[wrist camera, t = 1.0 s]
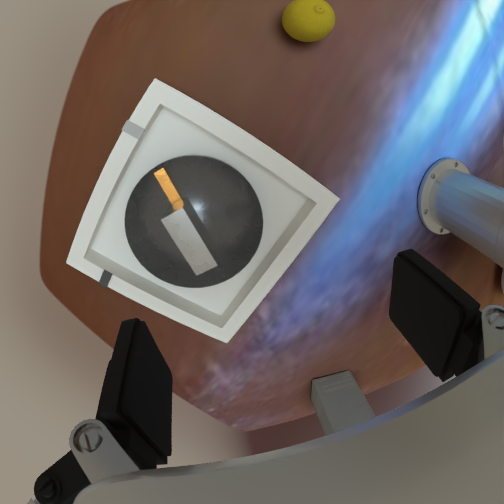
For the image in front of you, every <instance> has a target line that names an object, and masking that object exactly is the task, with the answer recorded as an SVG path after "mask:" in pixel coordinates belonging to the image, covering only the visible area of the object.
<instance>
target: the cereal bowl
mask: <svg viewBox="0 0 504 504" xmlns="http://www.w3.org/2000/svg"><path fill="white" fill-rule="evenodd" d="M501 285H502V291H503V294H504V269H503V271H502V277H501Z"/></svg>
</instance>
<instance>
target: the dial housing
mask: <svg viewBox="0 0 504 504" xmlns="http://www.w3.org/2000/svg"><path fill="white" fill-rule="evenodd" d="M122 131H123V132H122V133H121V135H120V137H119V139H118V141H117V143H116V145H115V147H114V148H113V150H112V152H111V154H110V156H109V158H108V160H107V162H106V164H105V167H104V169H103V171H102V173H101V175H100V177H99V179H98V182H97V184H96V186H95V188H94V190H93V193H92V195H91V197H90V200H89V202H88V205H87V207H86V209H85V212H84V214H83V217H82V220H81V222H80V225H79V227H78V230H77V233H76V236H75V238H74V241H73V244H72V247H71V250H70V253H69V256H68V259H67V262H66V263H67V264H69V265H71V266H72V267H74V268H76V269H77V270H79V271H81V272H83V273H84V274H86V275H88V276H90V277H91V278H93V279H95V280H97V281H98V282H99V283H98V284H100V285H101V286H103V287H105V288H107V286H108V287H109V288H111V289H113V290H115V291H117V292H119V293H121V294H123V295H124V296H126V297H128V298H130V299H132V300H134V301H136V302H138V303H140V304H142V305H144V306H146V307H148V308H150V309H152V310H154V311H156V312H158V313H160V314H162V315H165V316H167V317H169V318H171V319H173V320H175V321H177V322H179V323H182V324H184V325H186V326H188V327H190V328H193V329H195V330H197V331H199V332H202V333H204V334H206V335H209V336H211V337H213V338H216V339H218V340H220V341H223V342H225V343H228V342H229V340H230V339H231V338H232V337H233V335H234V334H235V333H236V332H237V331H238V329H239V328H240V327H241V326H242V325H243V323H244V322H245V321H246V320H247V318H248V317H249V316H250V315H251V313H252V312H253V311H254V310H255V309H256V307H257V306H258V305H259V304H260V302H261V301H262V300H263V299H264V297H265V296H266V295H267V294H268V292H269V291H270V290H271V288H272V287H273V286H274V285H275V283H276V282H277V281H278V280H279V278H280V277H281V276H282V275H283V273H284V272H285V271H286V269H287V268H288V267H289V266H290V264H291V263H292V262H293V260H294V259H295V258H296V257H297V255H298V254H299V253H300V251H301V250H302V249H303V247H304V246H305V245H306V244H307V242H308V241H309V240H310V238H311V237H312V236H313V234H314V233H315V232H316V230H317V229H318V228H319V226H320V225H321V224H322V222H323V221H324V220H325V218H326V217H327V216H328V214H329V213H330V212H331V210H332V209H333V208H334V206H335V205H336V204H337V202H338V201H339V200H340V199H339V198H338V197H337V196H336V195H334V194H333V193H332V192H330V191H329V190H328V189H327V188H325V187H324V186H323V185H321V184H320V183H319V182H317V181H316V180H315V179H313V178H312V177H311V176H309V175H308V174H307V173H305V172H304V171H302V170H301V169H300V168H298V167H297V166H296V165H294V164H293V163H291V162H290V161H289V160H287V159H286V158H284V157H283V156H281V155H280V154H279V153H277V152H276V151H274V150H273V149H271V148H270V147H268V146H267V145H265V144H264V143H262V142H261V141H259V140H258V139H256V138H255V137H253V136H252V135H250V134H249V133H247V132H246V131H244V130H243V129H241V128H240V127H238V126H236V125H235V124H233V123H232V122H230V121H228V120H227V119H225V118H224V117H222V116H220V115H219V114H217V113H215V112H214V111H212V110H210V109H209V108H207V107H205V106H204V105H202V104H200V103H199V102H197V101H195V100H193V99H192V98H190V97H188V96H186V95H185V94H183V93H181V92H179V91H177V90H176V89H174V88H172V87H170V86H168V85H166V84H165V83H163V82H161V81H159V80H157V79H154V80H153V82H152V83H151V85H150V86H149V88H148V89H147V91H146V93H145V94H144V96H143V97H142V99H141V101H140V102H139V104H138V106H137V107H136V109H135V111H134V112H133V114H132V116H131V117H130V119H129V120H127V121H126V123H125V125H124V127H123V128H122ZM183 155H205V156H210V157H214V158H217V159H219V160H222V161H224V162H226V163H228V164H230V165H231V166H233V167H234V168H235V169H237V170H238V171H239V172H240V173H241V174H242V175H243V176H244V177H245V178H246V179H247V180H248V182H249V183H250V184H251V186H252V188H253V189H254V191H255V193H256V194H257V197H258V199H259V202H260V205H261V209H262V214H263V232H262V238H261V241H260V244H259V247H258V249H257V251H256V253H255V255H254V256H253V258H252V259H251V261H250V262H249V263H248V264H247V266H246V267H245V268H244V269H242V270H241V271H240V272H239V273H238V274H236V275H235V276H234V277H232V278H230V279H228V280H227V281H225V282H222V283H220V284H217V285H213V286H209V287H203V288H186V287H180V286H176V285H172V284H169V283H167V282H165V281H162V280H160V279H159V278H157V277H155V276H154V275H152V274H151V273H150V272H148V271H147V270H146V269H145V268H144V267H143V266H142V265H141V264H140V262H139V261H138V260H137V259H136V257H135V255H134V254H133V252H132V250H131V248H130V246H129V244H128V240H127V237H126V232H125V211H126V206H127V203H128V200H129V197H130V195H131V193H132V191H133V189H134V188H135V186H136V184H137V183H138V182H139V181H140V180H141V178H142V177H143V176H144V175H146V174H147V173H148V172H149V171H150V170H151V169H153V168H154V167H155V166H157V165H158V164H160V163H162V162H164V161H166V160H168V159H171V158H174V157H178V156H183Z"/></svg>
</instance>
